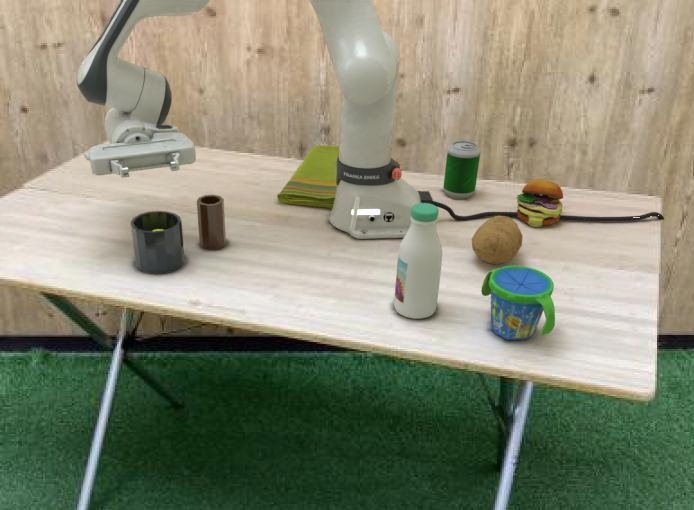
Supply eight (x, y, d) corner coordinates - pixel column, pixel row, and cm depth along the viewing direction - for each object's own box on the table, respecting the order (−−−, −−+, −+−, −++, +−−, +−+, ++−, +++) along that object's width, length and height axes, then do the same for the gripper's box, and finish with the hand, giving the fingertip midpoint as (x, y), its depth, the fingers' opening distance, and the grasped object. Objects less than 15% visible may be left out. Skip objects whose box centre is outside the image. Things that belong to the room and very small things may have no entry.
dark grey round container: (189, 252, 161) (186, 212, 156) (177, 275, 153) (173, 233, 148) (143, 249, 162) (139, 209, 157) (129, 272, 154) (124, 230, 149)
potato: (522, 247, 164) (529, 212, 160) (514, 278, 153) (521, 241, 149) (476, 239, 167) (481, 205, 163) (464, 269, 156) (469, 233, 151)
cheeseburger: (509, 224, 173) (517, 178, 170) (516, 216, 183) (523, 173, 179) (557, 231, 170) (566, 185, 166) (560, 223, 179) (569, 179, 176)
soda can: (476, 200, 184) (483, 151, 177) (444, 200, 184) (450, 150, 177) (471, 187, 190) (478, 139, 184) (440, 187, 190) (446, 139, 184)
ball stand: (227, 239, 166) (225, 195, 160) (222, 251, 161) (220, 206, 156) (203, 237, 166) (200, 193, 161) (197, 249, 162) (194, 204, 156)
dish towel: (276, 203, 181) (276, 190, 179) (312, 150, 210) (312, 138, 208) (341, 210, 178) (342, 197, 176) (368, 156, 207) (369, 144, 205)
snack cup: (565, 347, 134) (577, 295, 128) (514, 361, 130) (524, 308, 124) (510, 303, 145) (519, 254, 140) (462, 314, 142) (469, 265, 136)
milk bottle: (441, 303, 145) (453, 203, 134) (428, 324, 139) (440, 220, 128) (401, 294, 148) (410, 195, 137) (387, 313, 142) (395, 212, 131)
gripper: (80, 136, 152) (91, 160, 141) (184, 124, 158) (201, 147, 148) (85, 167, 156) (96, 193, 145) (186, 154, 162) (204, 179, 151)
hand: (150, 170), depth 146 cm, fingers open, 8 cm apart
